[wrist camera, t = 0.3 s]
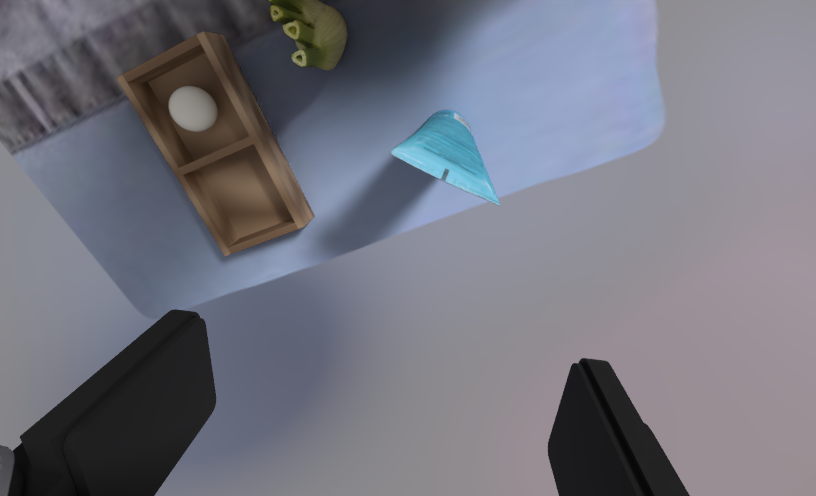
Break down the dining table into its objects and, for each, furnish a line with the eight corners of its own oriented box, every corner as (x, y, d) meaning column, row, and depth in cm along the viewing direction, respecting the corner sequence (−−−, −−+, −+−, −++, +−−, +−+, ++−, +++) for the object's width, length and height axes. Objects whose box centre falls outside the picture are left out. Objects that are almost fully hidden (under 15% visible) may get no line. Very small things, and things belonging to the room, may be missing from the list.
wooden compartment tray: (141, 77, 42) (115, 77, 39) (223, 34, 40) (203, 31, 37) (239, 244, 49) (225, 256, 46) (314, 216, 47) (304, 226, 44)
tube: (406, 144, 43) (377, 191, 25) (422, 98, 41) (403, 115, 23) (470, 168, 43) (487, 231, 26) (489, 124, 41) (521, 160, 24)
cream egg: (177, 95, 42) (149, 97, 38) (211, 78, 41) (185, 78, 37) (200, 135, 44) (175, 141, 40) (233, 119, 43) (211, 124, 39)
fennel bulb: (349, 72, 40) (312, 70, 29) (301, 65, 41) (248, 62, 30) (353, 6, 38) (315, -22, 27) (302, -1, 38) (244, -31, 27)
